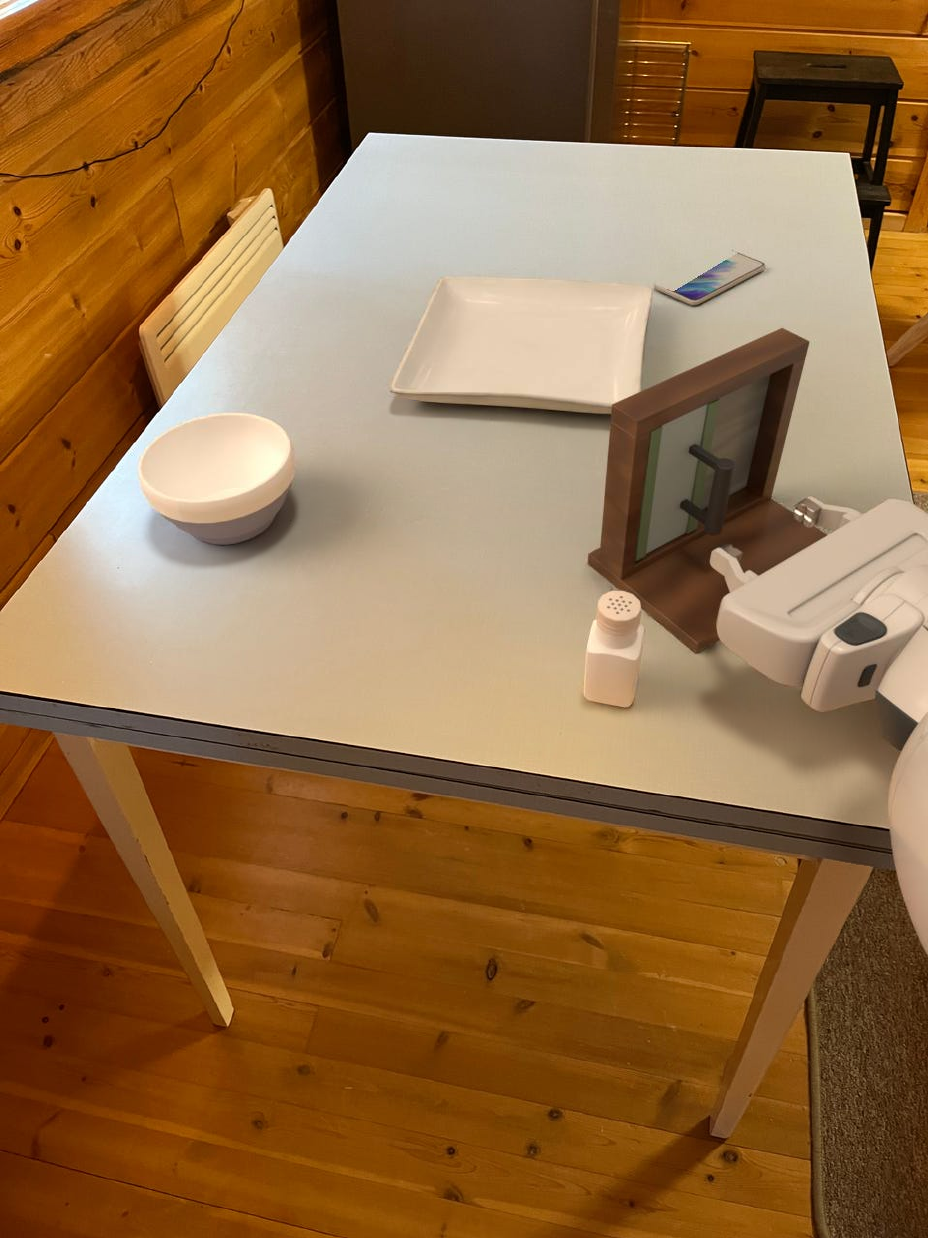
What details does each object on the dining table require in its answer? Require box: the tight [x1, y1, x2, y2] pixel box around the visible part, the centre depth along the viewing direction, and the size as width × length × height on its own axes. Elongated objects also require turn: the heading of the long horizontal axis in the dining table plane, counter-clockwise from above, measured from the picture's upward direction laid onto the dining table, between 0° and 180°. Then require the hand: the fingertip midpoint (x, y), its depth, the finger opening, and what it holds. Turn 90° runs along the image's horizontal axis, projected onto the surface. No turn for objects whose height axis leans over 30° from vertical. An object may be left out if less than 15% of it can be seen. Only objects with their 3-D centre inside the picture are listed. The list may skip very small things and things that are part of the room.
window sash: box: [635, 399, 735, 561], centre depth 77 cm, size 5×7×14 cm
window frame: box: [587, 327, 828, 654], centre depth 78 cm, size 14×19×18 cm
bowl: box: [137, 412, 297, 545], centre depth 89 cm, size 14×14×8 cm
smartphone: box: [653, 249, 766, 306], centre depth 122 cm, size 7×1×15 cm
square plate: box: [388, 276, 653, 415], centre depth 109 cm, size 27×27×4 cm
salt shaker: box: [582, 590, 646, 708], centre depth 71 cm, size 4×4×10 cm
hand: (759, 528), depth 74 cm, fingers open, 8 cm apart
